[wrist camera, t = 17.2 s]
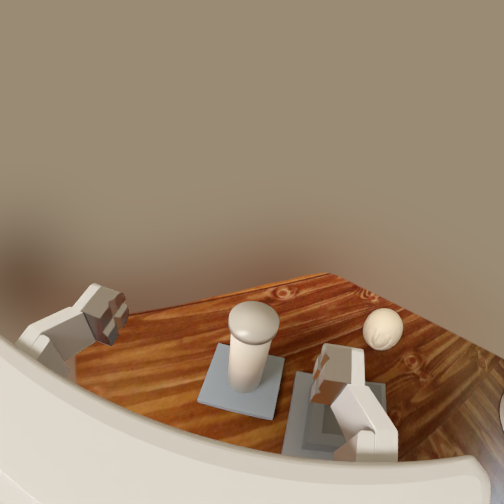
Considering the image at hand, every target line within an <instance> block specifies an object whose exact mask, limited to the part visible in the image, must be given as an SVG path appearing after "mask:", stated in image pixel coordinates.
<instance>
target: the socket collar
mask: <svg viewBox="0 0 504 504" xmlns="http://www.w3.org/2000/svg"><path fill="white" fill-rule="evenodd" d="M314 382H315V380H314V379H313V374H310V373H304V372H299V371H296V374H295V379H294V385H293V391H292V397H291V403H290V409H289V415H288V420H287V426H286V431H285V436H284V441H283V446H282V451H281V454H282V455H289V456H296V457H303V458H312V459H321V460H333V458H334V451H336V450H337V449H338V448H340V447H341V446H342V445H344V444H345V443H346V442H347V441H346V439H345V437H344V434H343V432H342V430H341V428H340V426H339V424H338V422H337V419H336V417H335V415H334V413H333V411H332V409H331V405H325V404H319V403H314V402H310V398H311V389H312V386H313V384H314ZM365 386H369V388H370V389H371V391H372V392H373V394H374V395H375V397H376V398H377V400H378V401H379V403H380V404H381V406H382V408H383V409H384V411H385V412H386V388H385V384H384V383H375V382H366V381H365Z"/></svg>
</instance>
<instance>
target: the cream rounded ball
mask: <svg viewBox="0 0 504 504" xmlns="http://www.w3.org/2000/svg"><path fill="white" fill-rule="evenodd" d="M402 332H403V323H402V320H401V318H400V316H399V315H398V314H397V313H396V312H395V311H393V310H391V309H387V308H381V309H378V310H375V311H373V312H372V313H371V314H370V315H369V316H368V318H367V319H366V321H365V323H364V327H363V337H364V339H365V341H366V343H367V344H368V345H369V346H370V347H372V348H373V349H375V350H387V349H390V348H392V347H393V346H394V345H396V344H397V342H398V341H399V339H400V338H401V335H402Z"/></svg>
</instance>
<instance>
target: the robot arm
mask: <svg viewBox="0 0 504 504" xmlns="http://www.w3.org/2000/svg"><path fill="white" fill-rule="evenodd" d="M124 301H125V296H124V294H123V293H120V292H117V291H115V290H112V289H109V288H106V287H104V286H101V285H98V284H95V283H94V284H92V285H90V287H89V288H88V289H87V290H86V291H85V292H84V294H83V295H82V296H81V297H80V299H79V300H78V301H77V302H76V303H75V304H74V306H73V307H68V308H66V309H63V310H61V311H59V312H57V313H55V314H52V315H50V316H48V317H46V318H44V319H42V320H39V321H37V322H35V323H33V324H31V325H29V326H28V327H27V329H26V330H25V331H24V332H23V334H22V335H21V336H20V338H19V339H18V340H17V342H16V343H15V344H14V345H13V344H12V343H10V342H9V341H8V340H6V339H5V338H4V337H2V336H1V335H0V504H490V499H491V484H490V478H489V476H488V474H487V473H486V471H485V470H484V468H483V467H482V466H481V464H480V463H479V462H478V460H477V459H476V458H475V457H474V456H472V455H464V456H457V457H450V458H442V459H433V460H422V461H408V462H398V431H397V429H396V428H395V426H394V424H393V423H392V421H391V420H390V418H389V417H388V415H387V414H386V412H385V411H384V409H383V408H382V406H381V404H380V403H379V401H378V400H377V398H376V397H375V395H374V394H373V392H372V391H371V389H370V388H369V386H365V363H364V351H363V349H358V348H352V347H347V346H341V345H334V344H328V343H325V344H324V345H323V347H322V352H321V354H320V355H318V358H317V360H316V363H315V366H314V372H313V379H314V380H315V382H314V384H313V386H312V389H311V398H310V402H314V403H319V404H325V405H331V409H332V411H333V413H334V415H335V417H336V419H337V422H338V424H339V426H340V428H341V430H342V432H343V434H344V437H345V439H346V441H347V442H346V443H345V444H344V445H342V446H341V447H340V448H338V449H337V450H336V451H334V458H333V460H321V459H312V458H303V457H296V456H289V455H282V454H276V453H271V452H265V451H260V450H255V449H250V448H246V447H241V446H237V445H233V444H229V443H225V442H221V441H217V440H213V439H210V438H206V437H203V436H200V435H196V434H193V433H190V432H187V431H184V430H181V429H178V428H175V427H172V426H169V425H166V424H163V423H161V422H158V421H155V420H153V419H150V418H147V417H145V416H142V415H140V414H138V413H135V412H133V411H130V410H128V409H126V408H124V407H121V406H119V405H117V404H115V403H112V402H110V401H108V400H106V399H104V398H102V397H100V396H98V395H96V394H94V393H92V392H90V391H88V390H86V389H84V388H82V387H80V386H79V385H77V384H75V383H73V382H71V381H69V380H68V379H66V378H67V376H68V374H69V373H70V369H69V368H68V366H67V365H66V363H65V361H66V360H68V359H69V358H71V357H72V356H74V355H76V354H77V353H79V352H80V351H82V350H83V349H85V348H86V347H88V346H90V345H91V344H93V343H94V342H96V341H99V342H102V343H104V344H107V345H109V346H112V345H113V343H114V342H115V340H116V339H117V337H118V336H119V333H118V330H120V329H122V328H124V326H125V324H126V323H127V320H128V317H129V310H128V307H127V306H126V304H125V303H124ZM500 419H501V424H502V427H503V430H504V394H503V396H502V399H501V403H500Z"/></svg>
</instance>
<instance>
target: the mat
mask: <svg viewBox="0 0 504 504" xmlns="http://www.w3.org/2000/svg"><path fill="white" fill-rule="evenodd" d="M229 353H230V346H229V345H225V344H221V343H218V346H217V349H216V351H215V354H214V357H213V359H212V362H211V365H210V367H209V370H208V373H207V375H206V378H205V381H204V383H203V386H202V389H201V391H200V394H199V397H198V399H197V401H198V402H199V403H202V404H206V405H209V406H213V407H216V408H220V409H224V410H228V411H232V412H236V413H240V414H244V415H249V416H253V417H258V418H263V419H267V420H272V419H273V416H274V411H275V406H276V401H277V396H278V391H279V386H280V381H281V376H282V370H283V365H284V360H285V358H282V357H277V356H272V355H267V359H266V363H265V367H264V370H263V374H262V378H261V381H260V384H259V386H258V388H257V389H256V390H255V391H253V392H250V393H239V392H236V391H235V390H233V389H232V388H231V387H230V386H229V384H228V380H227V378H228V365H229Z"/></svg>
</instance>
